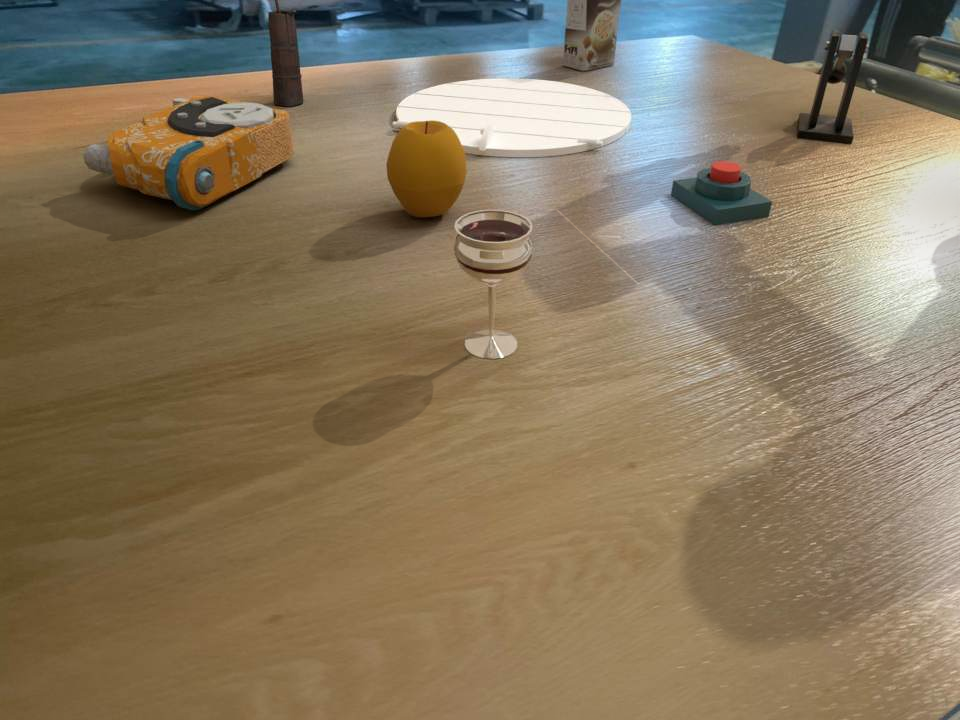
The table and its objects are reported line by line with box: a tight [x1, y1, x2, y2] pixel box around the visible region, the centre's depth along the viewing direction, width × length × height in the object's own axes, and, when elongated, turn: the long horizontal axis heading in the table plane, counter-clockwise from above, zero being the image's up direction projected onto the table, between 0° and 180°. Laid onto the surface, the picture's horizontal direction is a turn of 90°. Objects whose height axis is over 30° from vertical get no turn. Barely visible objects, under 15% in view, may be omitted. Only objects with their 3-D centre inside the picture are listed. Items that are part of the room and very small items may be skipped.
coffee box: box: [562, 0, 622, 72], centre depth 152 cm, size 9×6×16 cm
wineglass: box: [453, 209, 533, 360], centre depth 68 cm, size 7×7×12 cm
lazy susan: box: [392, 77, 632, 158], centre depth 127 cm, size 40×39×3 cm
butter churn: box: [267, 0, 305, 107], centre depth 126 cm, size 9×10×28 cm
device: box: [83, 94, 295, 211], centre depth 105 cm, size 23×8×30 cm
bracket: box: [796, 29, 870, 145], centre depth 119 cm, size 10×8×15 cm
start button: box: [709, 160, 742, 184], centre depth 95 cm, size 4×4×2 cm
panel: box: [670, 167, 773, 227], centre depth 97 cm, size 10×8×4 cm
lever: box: [827, 34, 858, 85], centre depth 121 cm, size 13×4×4 cm
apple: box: [386, 120, 468, 218], centre depth 92 cm, size 10×10×12 cm
